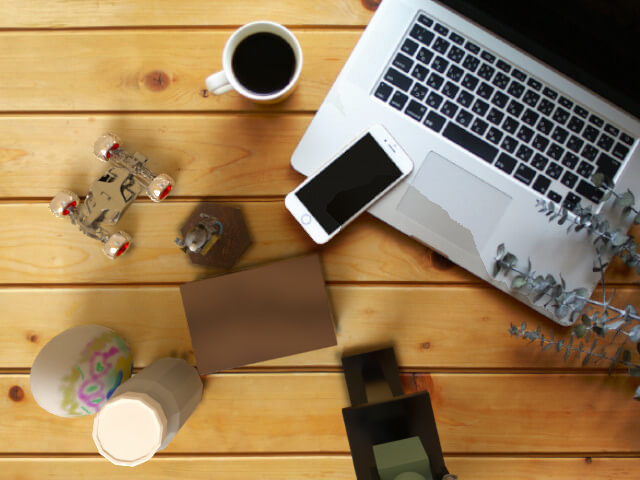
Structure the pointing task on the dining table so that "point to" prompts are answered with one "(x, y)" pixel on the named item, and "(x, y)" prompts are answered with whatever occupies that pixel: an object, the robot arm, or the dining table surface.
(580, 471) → the dining table surface
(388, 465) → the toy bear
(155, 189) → the toy car
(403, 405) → the plant stand
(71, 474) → the dining table surface
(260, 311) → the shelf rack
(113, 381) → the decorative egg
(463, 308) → the dining table surface
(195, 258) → the robot figurine
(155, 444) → the jar
